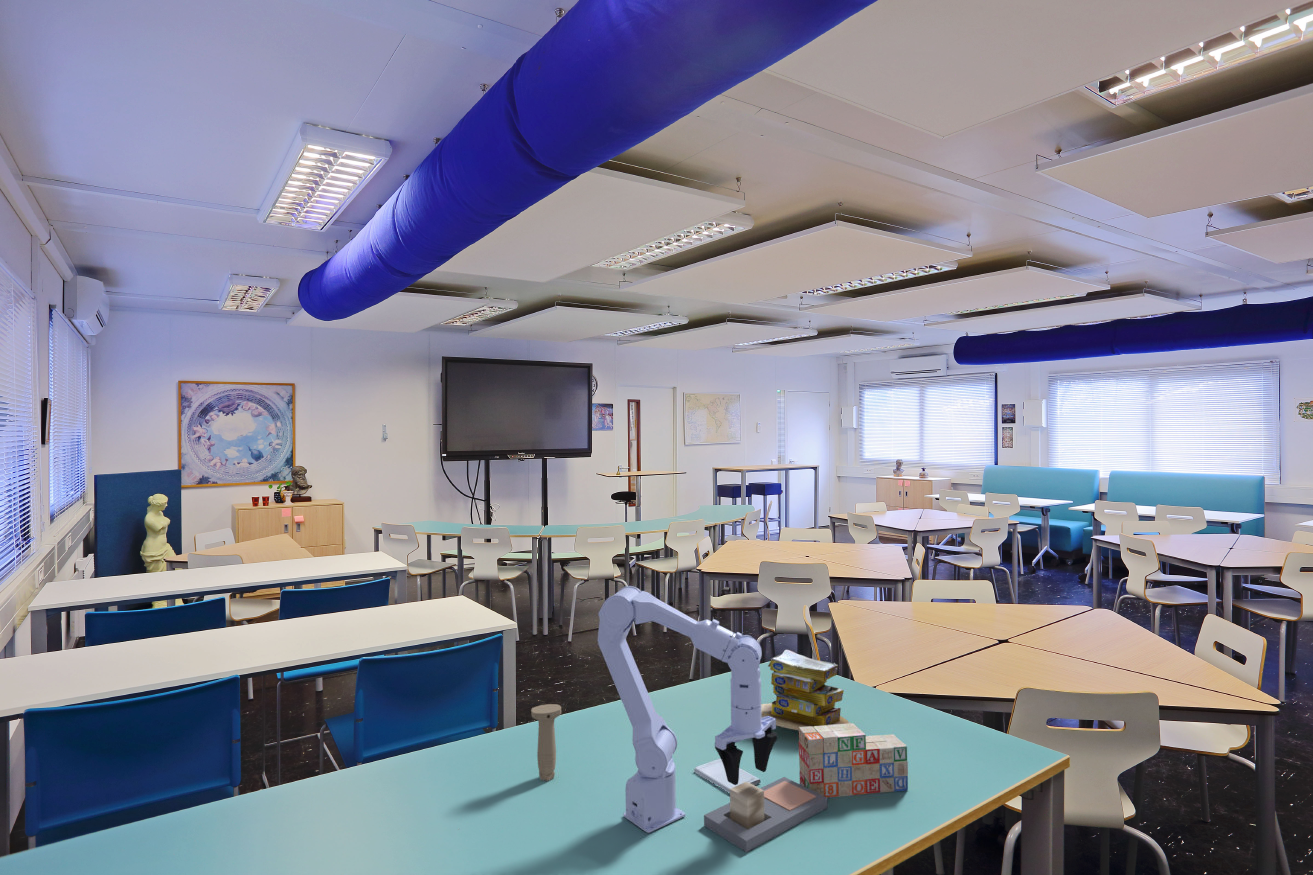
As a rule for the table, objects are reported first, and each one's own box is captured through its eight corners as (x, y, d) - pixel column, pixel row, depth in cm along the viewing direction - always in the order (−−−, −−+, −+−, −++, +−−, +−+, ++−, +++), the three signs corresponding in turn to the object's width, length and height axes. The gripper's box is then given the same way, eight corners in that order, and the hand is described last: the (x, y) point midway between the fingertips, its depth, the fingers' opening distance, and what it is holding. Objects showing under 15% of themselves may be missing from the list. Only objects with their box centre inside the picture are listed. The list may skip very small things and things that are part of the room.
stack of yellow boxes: (787, 698, 193) (786, 639, 193) (868, 723, 175) (866, 658, 175) (731, 724, 176) (730, 659, 176) (814, 754, 158) (813, 682, 158)
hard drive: (760, 778, 145) (722, 756, 155) (731, 790, 140) (694, 766, 150) (760, 786, 145) (722, 763, 155) (731, 798, 140) (694, 774, 150)
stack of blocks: (894, 776, 148) (893, 719, 148) (908, 791, 141) (907, 731, 141) (798, 784, 145) (798, 725, 145) (809, 799, 139) (808, 738, 139)
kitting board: (746, 852, 121) (746, 839, 121) (704, 825, 129) (703, 813, 129) (827, 807, 135) (827, 796, 135) (784, 786, 144) (784, 775, 144)
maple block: (747, 836, 125) (747, 798, 126) (730, 825, 129) (729, 788, 129) (764, 827, 128) (764, 790, 128) (746, 817, 132) (746, 781, 132)
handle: (530, 775, 149) (529, 706, 150) (559, 770, 152) (558, 702, 152) (534, 785, 145) (533, 714, 145) (563, 780, 147) (563, 710, 147)
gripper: (734, 720, 121) (735, 797, 121) (787, 700, 130) (788, 771, 130) (706, 708, 127) (707, 782, 127) (760, 690, 136) (761, 758, 136)
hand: (747, 775), depth 129 cm, fingers open, 7 cm apart
